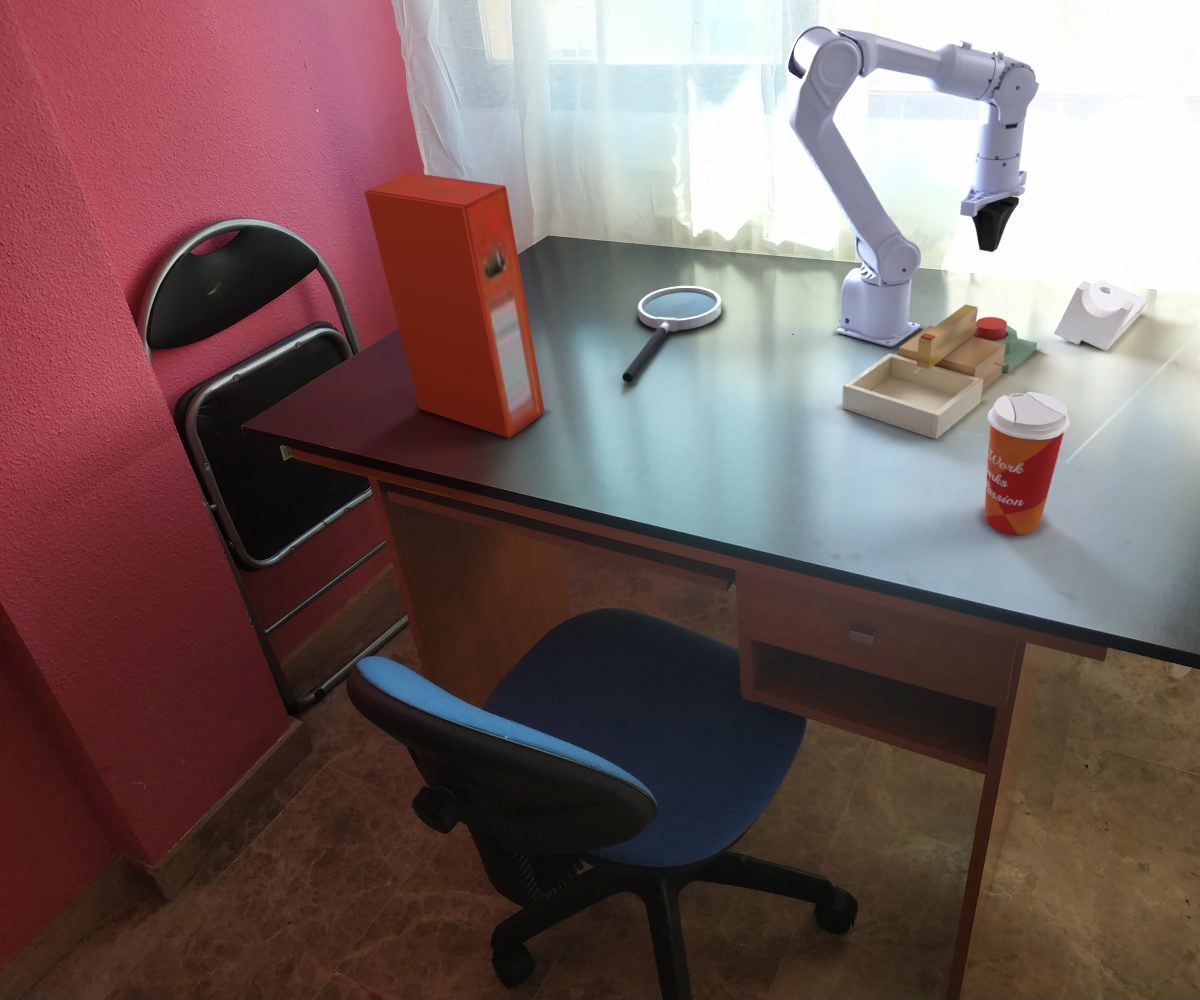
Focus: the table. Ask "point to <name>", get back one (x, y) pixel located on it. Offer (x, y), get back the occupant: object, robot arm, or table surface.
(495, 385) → the file binder
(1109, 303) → the bracket
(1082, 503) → the table surface
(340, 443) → the table surface
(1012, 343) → the tap control
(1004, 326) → the tap button
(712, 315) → the magnifying glass
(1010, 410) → the paper cup
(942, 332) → the golden tan long bar
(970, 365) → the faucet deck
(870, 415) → the wooden tray
